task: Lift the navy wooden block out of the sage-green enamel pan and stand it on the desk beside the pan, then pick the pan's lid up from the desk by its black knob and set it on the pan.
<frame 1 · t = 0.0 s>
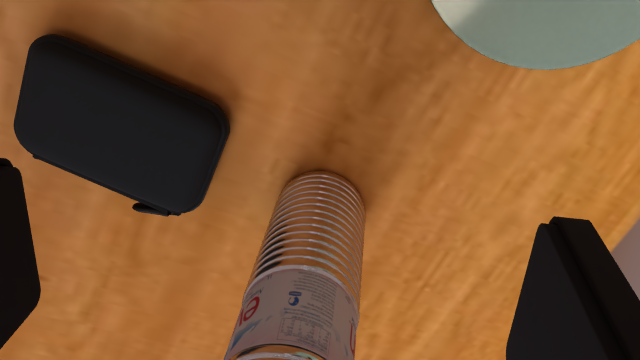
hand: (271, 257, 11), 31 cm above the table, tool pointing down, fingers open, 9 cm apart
water bottle: (321, 206, 46), on the table
carrying case: (127, 126, 45), on the table
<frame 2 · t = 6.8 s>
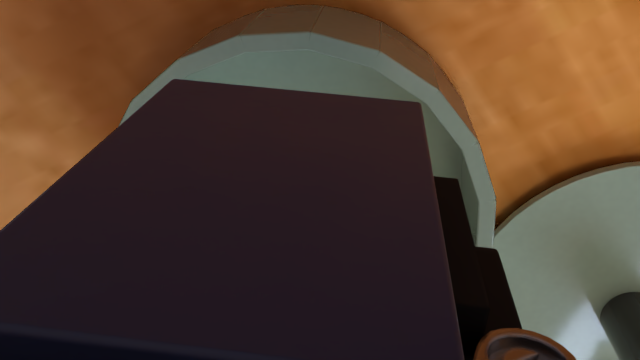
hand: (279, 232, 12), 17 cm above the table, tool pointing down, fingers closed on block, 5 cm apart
block: (289, 200, 13), point 16 cm above the table, touching gripper
lid: (626, 309, 31), point 1 cm above the table
pan: (309, 170, 30), on the table
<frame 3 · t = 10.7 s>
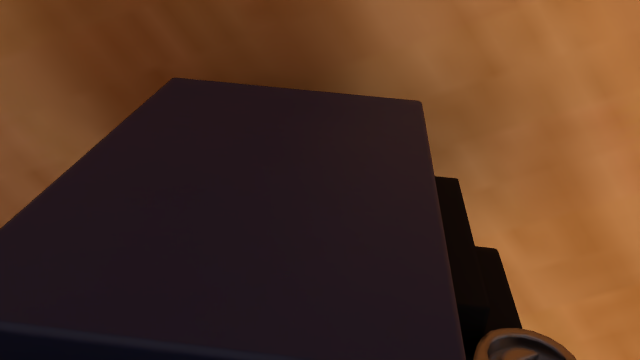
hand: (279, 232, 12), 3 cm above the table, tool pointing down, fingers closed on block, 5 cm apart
block: (290, 199, 13), point 2 cm above the table, touching gripper
when the fingers open (1 cm above the table, at t = 11.7 s): block stays where it is, on the table.
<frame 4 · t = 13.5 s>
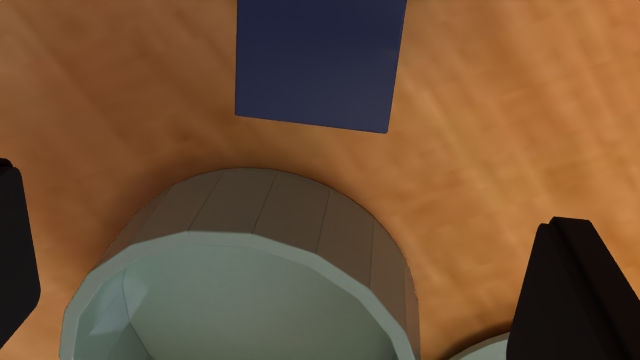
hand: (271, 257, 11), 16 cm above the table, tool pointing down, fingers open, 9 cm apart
block: (338, 5, 25), on the table
pan: (262, 305, 32), on the table
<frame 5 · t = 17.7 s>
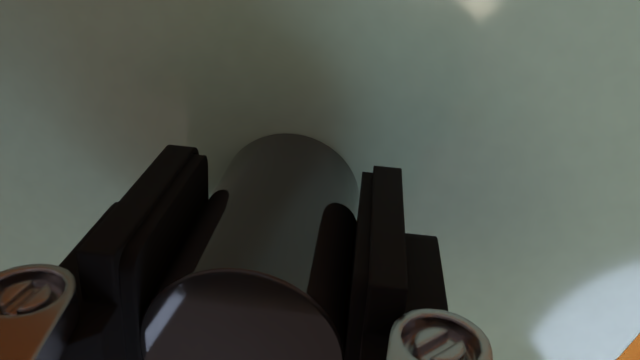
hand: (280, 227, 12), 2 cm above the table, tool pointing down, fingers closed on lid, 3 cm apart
lid: (293, 186, 13), point 1 cm above the table, touching gripper
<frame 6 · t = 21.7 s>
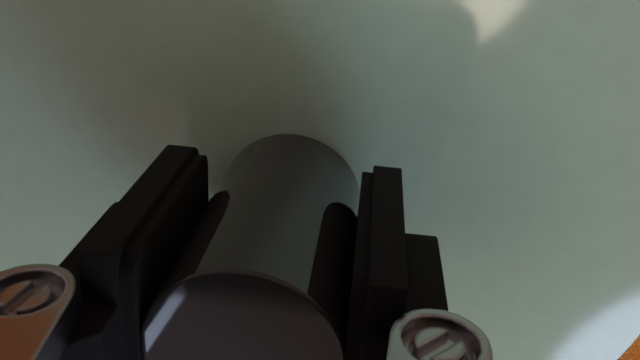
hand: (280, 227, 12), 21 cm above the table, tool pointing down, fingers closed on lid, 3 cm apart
lid: (294, 187, 13), point 19 cm above the table, touching gripper
when the fingers open (8 cm above the table, at t = 25.9 s): lid stays where it is, resting on pan.
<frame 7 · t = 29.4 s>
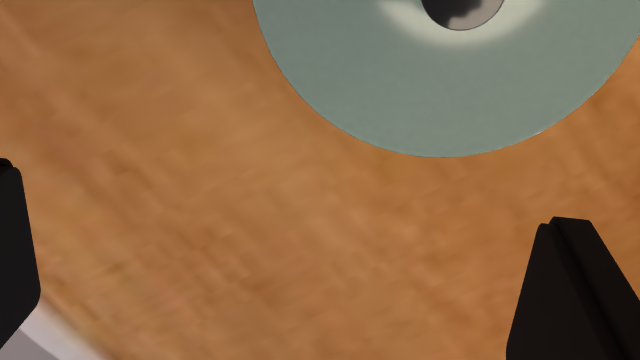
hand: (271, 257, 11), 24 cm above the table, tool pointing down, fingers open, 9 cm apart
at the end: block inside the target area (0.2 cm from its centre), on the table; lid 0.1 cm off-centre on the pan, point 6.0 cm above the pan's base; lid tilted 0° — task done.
